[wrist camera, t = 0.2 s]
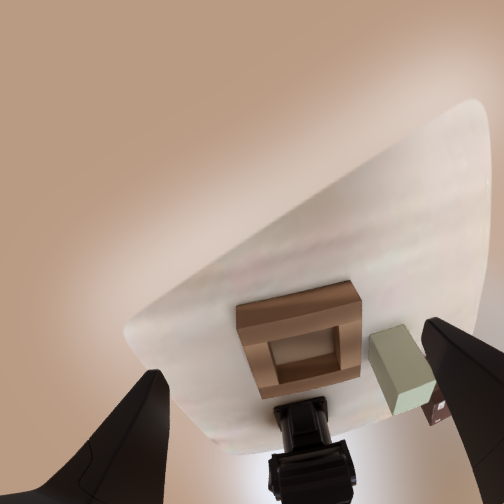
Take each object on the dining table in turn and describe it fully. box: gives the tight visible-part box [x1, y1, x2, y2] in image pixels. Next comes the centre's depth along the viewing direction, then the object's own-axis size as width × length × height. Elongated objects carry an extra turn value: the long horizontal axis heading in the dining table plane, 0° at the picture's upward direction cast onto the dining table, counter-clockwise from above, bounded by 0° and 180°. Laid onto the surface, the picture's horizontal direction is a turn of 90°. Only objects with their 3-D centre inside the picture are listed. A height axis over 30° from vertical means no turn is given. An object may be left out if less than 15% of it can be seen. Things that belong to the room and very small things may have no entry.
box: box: [421, 356, 451, 426], centre depth 29 cm, size 6×6×7 cm
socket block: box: [236, 280, 362, 399], centre depth 26 cm, size 10×10×3 cm
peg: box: [369, 324, 436, 416], centre depth 25 cm, size 4×4×8 cm
